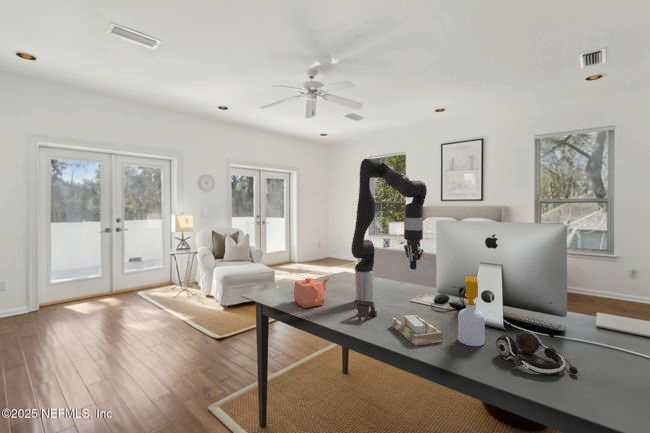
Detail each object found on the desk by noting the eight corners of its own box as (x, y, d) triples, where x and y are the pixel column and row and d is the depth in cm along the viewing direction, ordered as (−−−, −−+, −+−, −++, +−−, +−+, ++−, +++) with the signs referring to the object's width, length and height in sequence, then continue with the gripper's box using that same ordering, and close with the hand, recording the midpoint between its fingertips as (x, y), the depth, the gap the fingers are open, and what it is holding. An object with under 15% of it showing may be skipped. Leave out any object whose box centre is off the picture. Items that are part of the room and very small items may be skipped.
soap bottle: (482, 337, 123) (482, 275, 122) (486, 348, 114) (486, 280, 113) (457, 335, 126) (457, 273, 125) (459, 345, 117) (459, 279, 116)
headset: (528, 325, 114) (589, 358, 96) (525, 344, 116) (584, 381, 97) (491, 332, 109) (547, 369, 90) (488, 352, 111) (543, 393, 92)
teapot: (339, 305, 165) (338, 279, 165) (304, 311, 157) (304, 284, 156) (322, 295, 183) (321, 271, 183) (290, 300, 175) (289, 276, 174)
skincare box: (403, 315, 132) (414, 326, 121) (413, 314, 133) (425, 325, 121) (403, 329, 133) (415, 342, 121) (413, 329, 133) (425, 341, 121)
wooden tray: (392, 326, 137) (392, 318, 136) (416, 323, 139) (416, 315, 139) (415, 345, 118) (415, 336, 118) (442, 341, 121) (442, 332, 120)
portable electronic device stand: (377, 315, 149) (376, 298, 149) (372, 321, 142) (372, 303, 142) (359, 313, 153) (359, 296, 152) (353, 319, 146) (353, 301, 145)
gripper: (398, 227, 139) (398, 266, 140) (412, 230, 126) (412, 273, 127) (413, 226, 140) (413, 265, 142) (430, 229, 128) (429, 272, 129)
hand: (413, 269), depth 134 cm, fingers closed
